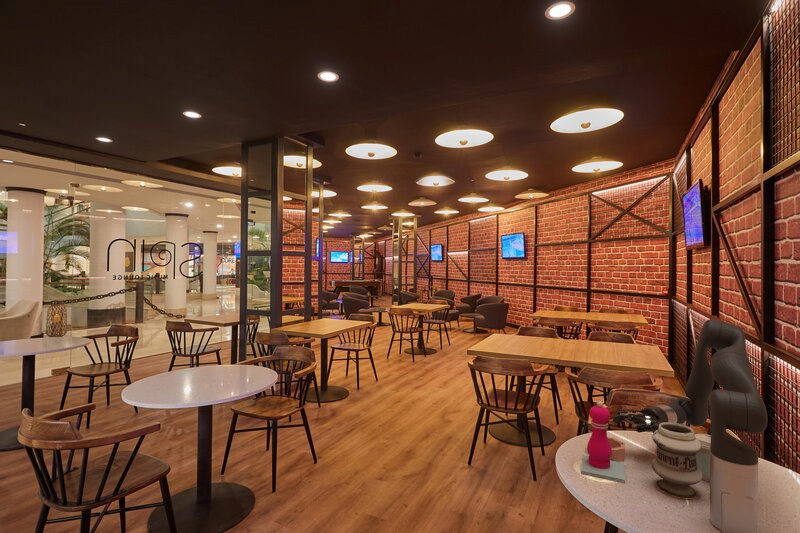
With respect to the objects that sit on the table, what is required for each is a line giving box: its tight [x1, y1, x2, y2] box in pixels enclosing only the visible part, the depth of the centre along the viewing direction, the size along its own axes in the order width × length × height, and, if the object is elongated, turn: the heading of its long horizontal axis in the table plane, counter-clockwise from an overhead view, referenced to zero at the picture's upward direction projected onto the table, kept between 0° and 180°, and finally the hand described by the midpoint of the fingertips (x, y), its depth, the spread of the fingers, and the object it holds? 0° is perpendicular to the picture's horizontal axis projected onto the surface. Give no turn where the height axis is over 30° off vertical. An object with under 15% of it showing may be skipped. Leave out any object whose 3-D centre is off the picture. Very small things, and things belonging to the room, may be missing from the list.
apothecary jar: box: [651, 423, 703, 500], centre depth 119 cm, size 12×12×18 cm
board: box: [580, 454, 626, 484], centre depth 130 cm, size 12×12×1 cm
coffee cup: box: [694, 433, 711, 483], centre depth 126 cm, size 9×8×12 cm
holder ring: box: [588, 436, 626, 462], centre depth 141 cm, size 11×11×4 cm
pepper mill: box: [586, 400, 612, 469], centre depth 132 cm, size 7×7×20 cm
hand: (625, 424), depth 134 cm, fingers open, 8 cm apart
